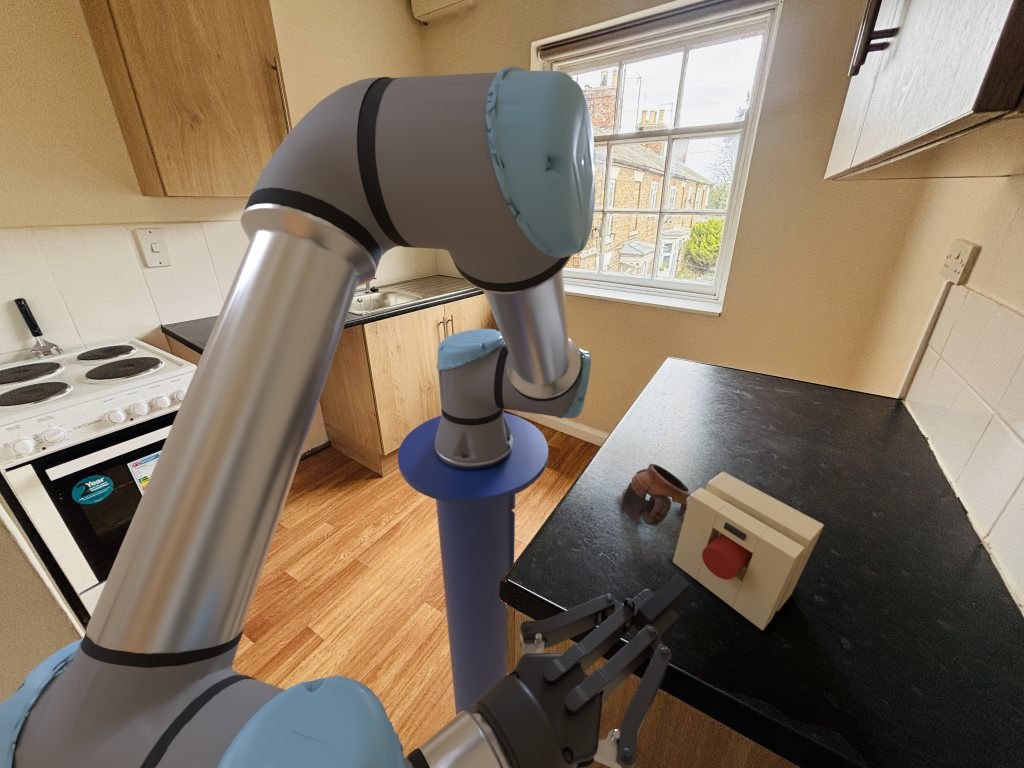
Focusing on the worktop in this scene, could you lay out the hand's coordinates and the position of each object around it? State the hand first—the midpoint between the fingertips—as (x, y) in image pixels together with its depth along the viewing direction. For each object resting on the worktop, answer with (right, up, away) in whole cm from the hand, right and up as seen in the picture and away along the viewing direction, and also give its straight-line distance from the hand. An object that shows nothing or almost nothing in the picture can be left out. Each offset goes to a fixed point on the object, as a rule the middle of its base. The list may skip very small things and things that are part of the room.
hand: (681, 587), depth 42 cm
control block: (+11, -5, +12) cm, 17 cm away
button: (+8, -1, +7) cm, 11 cm away
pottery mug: (+5, 0, +22) cm, 23 cm away
